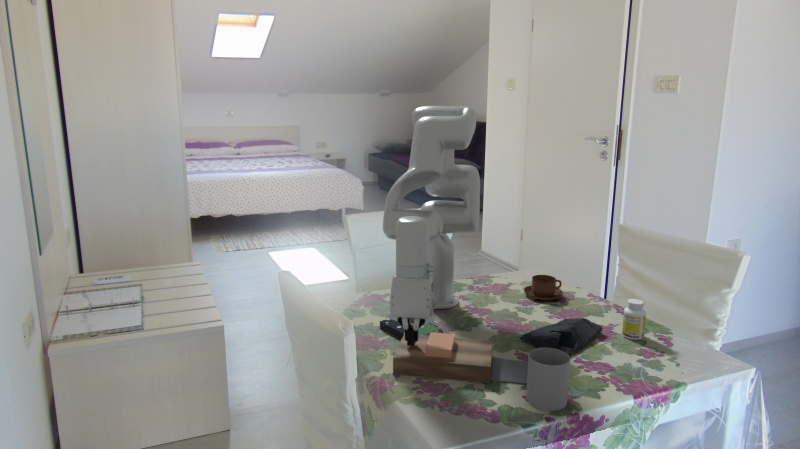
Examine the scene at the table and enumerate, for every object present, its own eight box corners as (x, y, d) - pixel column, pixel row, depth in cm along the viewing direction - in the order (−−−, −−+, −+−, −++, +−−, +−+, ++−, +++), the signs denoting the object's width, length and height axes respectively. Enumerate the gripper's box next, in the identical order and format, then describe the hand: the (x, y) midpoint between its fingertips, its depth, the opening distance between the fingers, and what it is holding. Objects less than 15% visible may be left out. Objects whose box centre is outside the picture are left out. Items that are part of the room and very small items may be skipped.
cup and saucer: (541, 288, 193) (542, 270, 191) (570, 298, 183) (572, 280, 182) (515, 295, 186) (516, 276, 185) (544, 306, 177) (545, 287, 175)
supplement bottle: (633, 331, 158) (637, 296, 156) (648, 339, 153) (651, 303, 151) (617, 333, 157) (620, 299, 154) (631, 341, 152) (634, 306, 149)
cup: (560, 390, 127) (563, 347, 125) (572, 410, 119) (576, 365, 117) (521, 390, 127) (523, 348, 125) (531, 411, 119) (534, 365, 117)
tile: (430, 339, 143) (430, 332, 143) (455, 341, 142) (455, 334, 141) (425, 355, 134) (425, 347, 134) (451, 358, 133) (451, 350, 133)
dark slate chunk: (612, 337, 155) (614, 320, 154) (564, 362, 141) (565, 343, 140) (563, 320, 167) (564, 305, 166) (514, 341, 153) (514, 324, 152)
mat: (492, 359, 142) (492, 358, 141) (543, 363, 139) (543, 362, 139) (490, 381, 131) (490, 379, 131) (545, 386, 129) (546, 385, 129)
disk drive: (378, 331, 160) (414, 348, 149) (378, 321, 159) (414, 338, 148) (407, 321, 166) (444, 337, 155) (407, 312, 166) (444, 327, 154)
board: (404, 348, 148) (404, 333, 147) (492, 355, 143) (492, 340, 143) (392, 374, 134) (392, 357, 133) (489, 383, 130) (490, 366, 129)
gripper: (446, 267, 137) (444, 339, 141) (384, 263, 140) (384, 334, 144) (442, 277, 130) (440, 353, 134) (376, 272, 133) (377, 347, 137)
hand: (411, 343), depth 139 cm, fingers closed
